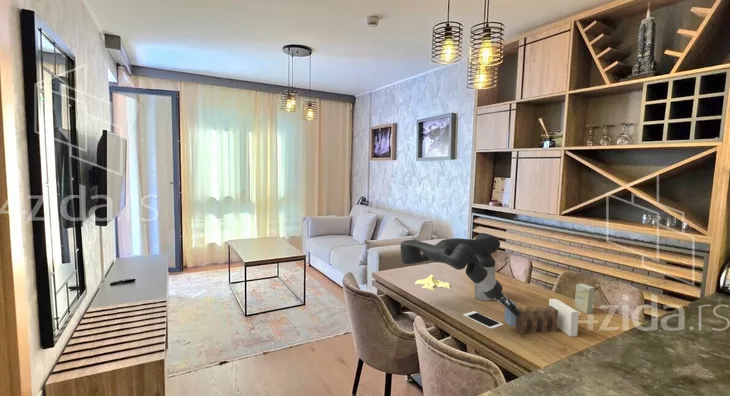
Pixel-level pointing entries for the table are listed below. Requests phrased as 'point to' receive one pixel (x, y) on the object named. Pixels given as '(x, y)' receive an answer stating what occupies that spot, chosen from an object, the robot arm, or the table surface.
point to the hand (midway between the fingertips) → (514, 311)
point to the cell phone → (483, 320)
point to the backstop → (566, 317)
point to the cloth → (432, 283)
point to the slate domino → (510, 316)
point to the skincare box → (584, 298)
